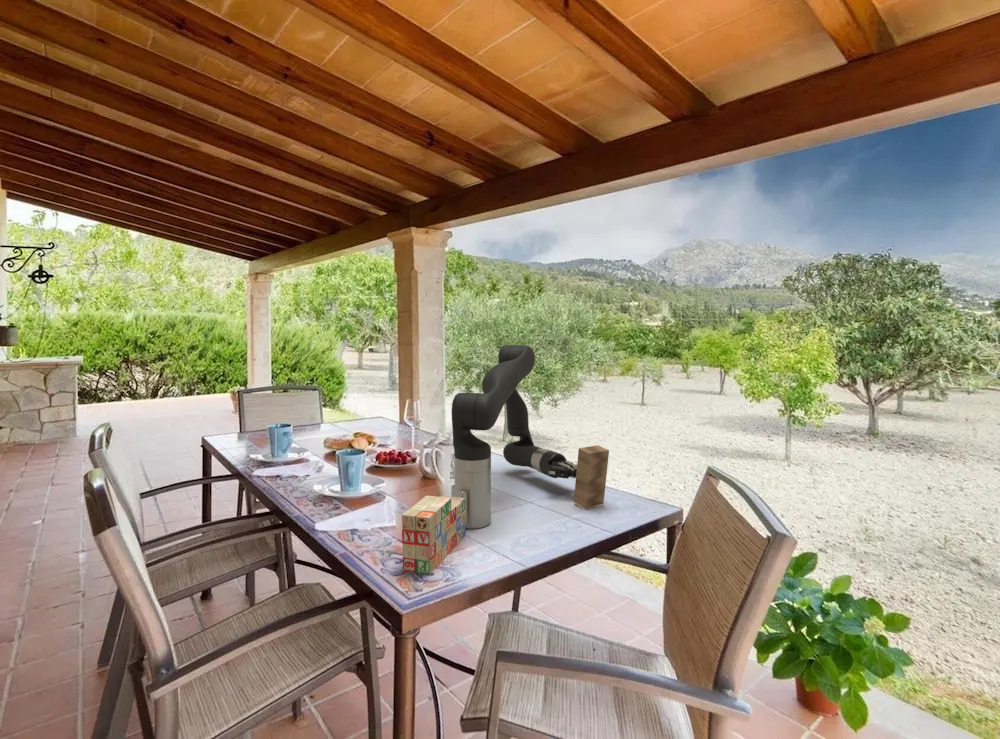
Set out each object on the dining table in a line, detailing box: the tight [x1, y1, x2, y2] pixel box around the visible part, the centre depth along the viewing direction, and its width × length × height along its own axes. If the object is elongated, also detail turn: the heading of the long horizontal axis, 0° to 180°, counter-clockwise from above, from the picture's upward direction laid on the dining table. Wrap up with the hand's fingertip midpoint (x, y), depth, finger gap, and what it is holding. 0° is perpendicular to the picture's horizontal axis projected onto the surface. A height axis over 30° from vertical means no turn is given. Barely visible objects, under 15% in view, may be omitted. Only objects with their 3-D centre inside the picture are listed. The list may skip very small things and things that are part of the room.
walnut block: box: [573, 444, 610, 510], centre depth 150 cm, size 7×4×16 cm, turn 121°
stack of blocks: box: [401, 495, 467, 575], centre depth 120 cm, size 21×6×12 cm, turn 164°
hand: (585, 476), depth 152 cm, fingers closed
